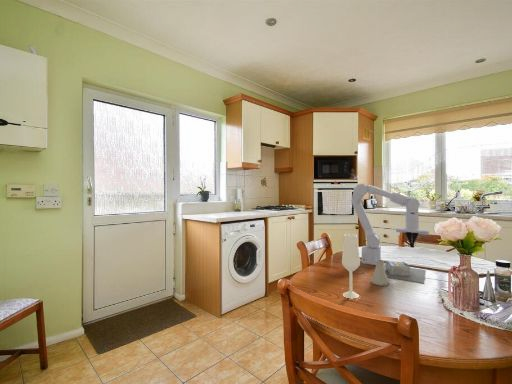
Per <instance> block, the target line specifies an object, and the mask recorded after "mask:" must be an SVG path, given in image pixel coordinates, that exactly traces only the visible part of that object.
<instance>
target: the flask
mask: <svg viewBox="0 0 512 384" xmlns="http://www.w3.org/2000/svg"><path fill="white" fill-rule="evenodd" d="M375 261H376V265H375V269H374V272H373V274H372V277H371V279H370V282H371V284H373V285H376V286H381V287H383V286H384V287H385V286H388V285H390V282H389V281H390V280H389V278H387V276H386V273H385V271H384V262H385V260H382V259H381V260H375Z"/></svg>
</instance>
